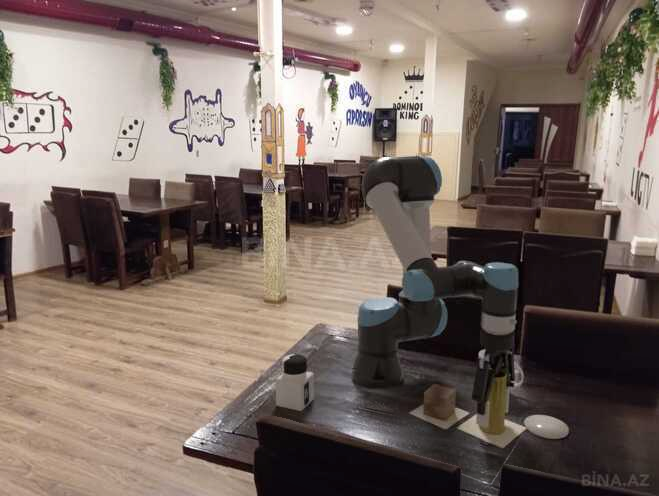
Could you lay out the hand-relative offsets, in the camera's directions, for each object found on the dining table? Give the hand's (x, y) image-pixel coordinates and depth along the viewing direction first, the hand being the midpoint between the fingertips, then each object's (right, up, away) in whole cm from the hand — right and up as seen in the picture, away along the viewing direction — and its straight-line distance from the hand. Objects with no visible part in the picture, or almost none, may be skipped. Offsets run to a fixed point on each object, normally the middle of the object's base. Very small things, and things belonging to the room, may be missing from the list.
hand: (492, 417), depth 124 cm
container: (-49, -1, +14) cm, 51 cm away
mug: (+8, +1, +19) cm, 21 cm away
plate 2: (0, -3, +1) cm, 3 cm away
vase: (0, -3, +1) cm, 3 cm away
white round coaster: (+13, -3, +1) cm, 14 cm away
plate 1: (-11, -2, +8) cm, 14 cm away
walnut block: (-11, -1, +8) cm, 14 cm away
